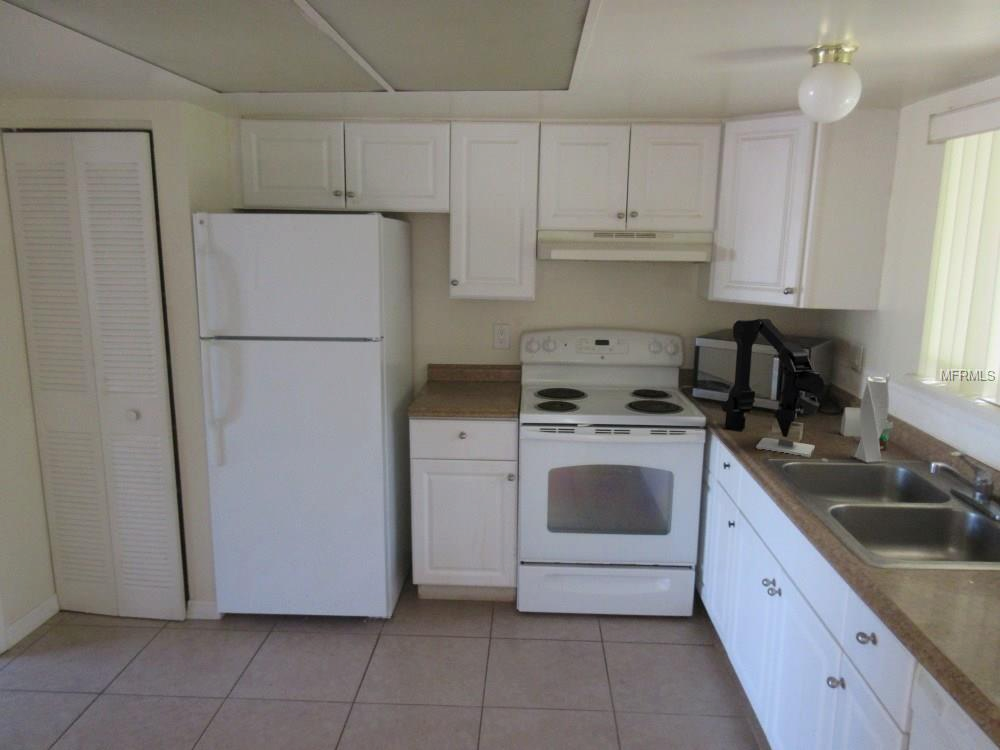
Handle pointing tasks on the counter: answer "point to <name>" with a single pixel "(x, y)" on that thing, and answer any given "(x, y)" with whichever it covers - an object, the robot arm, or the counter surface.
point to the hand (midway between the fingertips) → (786, 434)
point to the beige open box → (793, 433)
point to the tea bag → (851, 422)
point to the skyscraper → (873, 419)
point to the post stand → (786, 446)
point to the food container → (885, 434)
